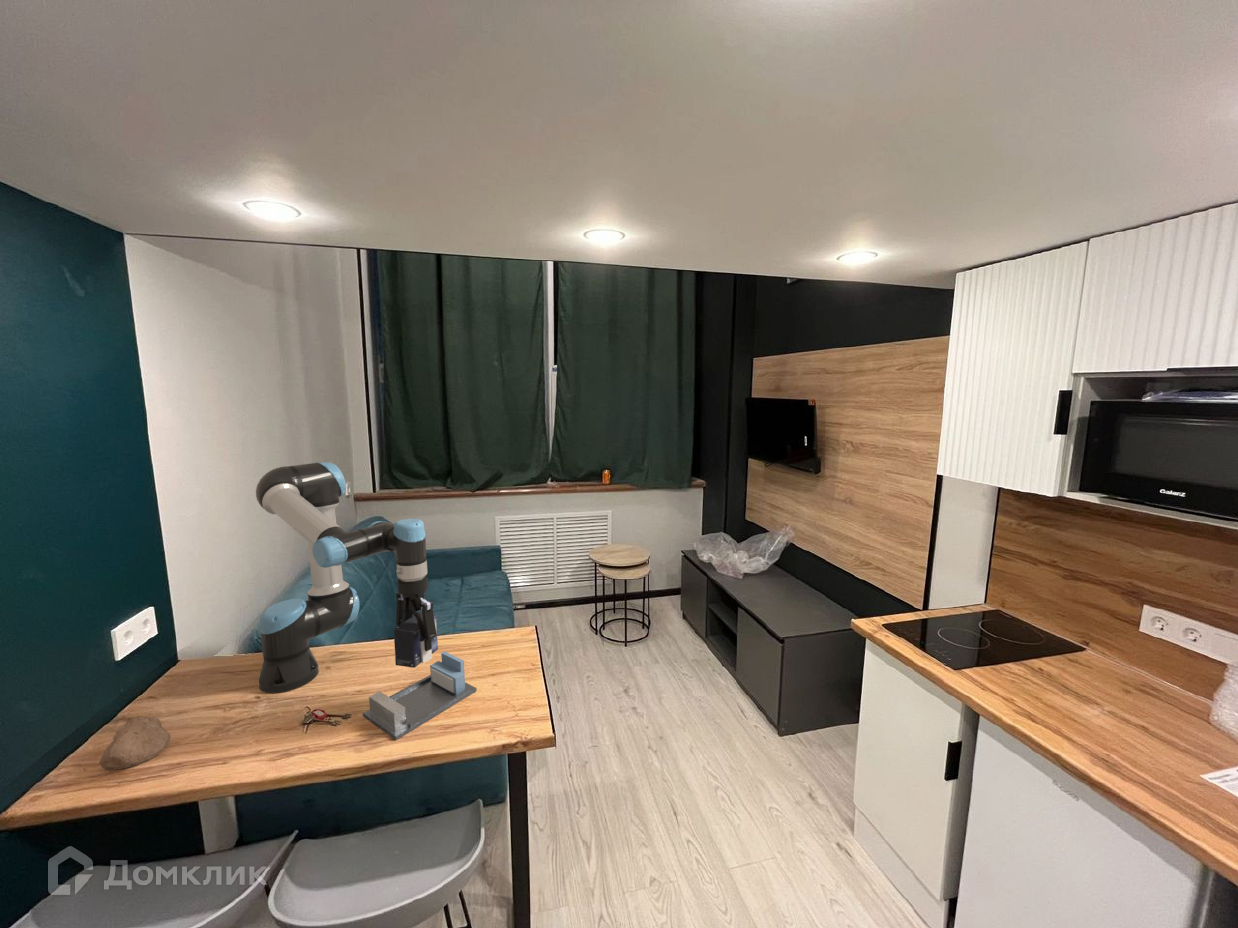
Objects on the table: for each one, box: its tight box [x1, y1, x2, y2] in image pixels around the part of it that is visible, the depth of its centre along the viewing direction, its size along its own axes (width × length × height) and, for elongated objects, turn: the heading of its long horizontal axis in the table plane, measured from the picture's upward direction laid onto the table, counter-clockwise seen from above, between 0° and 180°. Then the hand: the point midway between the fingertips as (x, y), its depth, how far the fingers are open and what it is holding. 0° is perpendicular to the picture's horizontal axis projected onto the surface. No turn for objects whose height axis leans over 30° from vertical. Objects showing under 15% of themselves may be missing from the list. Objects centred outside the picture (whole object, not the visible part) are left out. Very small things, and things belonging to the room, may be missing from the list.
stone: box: [99, 716, 171, 771], centre depth 118 cm, size 12×9×10 cm
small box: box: [392, 614, 439, 669], centre depth 134 cm, size 11×6×10 cm, turn 166°
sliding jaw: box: [429, 651, 466, 695], centre depth 144 cm, size 12×5×8 cm, turn 55°
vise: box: [362, 674, 477, 741], centre depth 137 cm, size 16×25×6 cm, turn 145°
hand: (417, 655), depth 135 cm, fingers closed on small box, 8 cm apart
